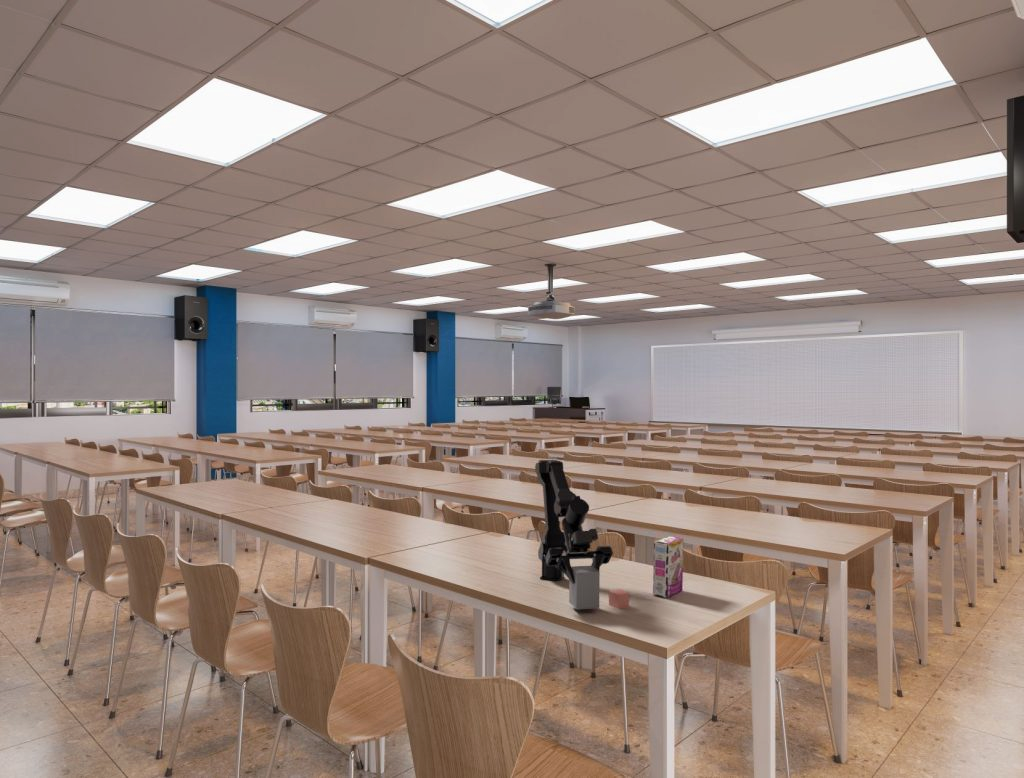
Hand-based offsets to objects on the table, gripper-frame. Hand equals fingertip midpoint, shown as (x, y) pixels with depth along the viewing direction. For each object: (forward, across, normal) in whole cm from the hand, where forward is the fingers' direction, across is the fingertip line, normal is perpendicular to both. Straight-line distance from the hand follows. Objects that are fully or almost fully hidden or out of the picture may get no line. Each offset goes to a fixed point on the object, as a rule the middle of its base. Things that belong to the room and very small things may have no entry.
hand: (585, 582), depth 177 cm
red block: (+3, +11, +8) cm, 14 cm away
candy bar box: (-3, +31, +14) cm, 34 cm away
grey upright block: (+4, 0, +6) cm, 7 cm away
